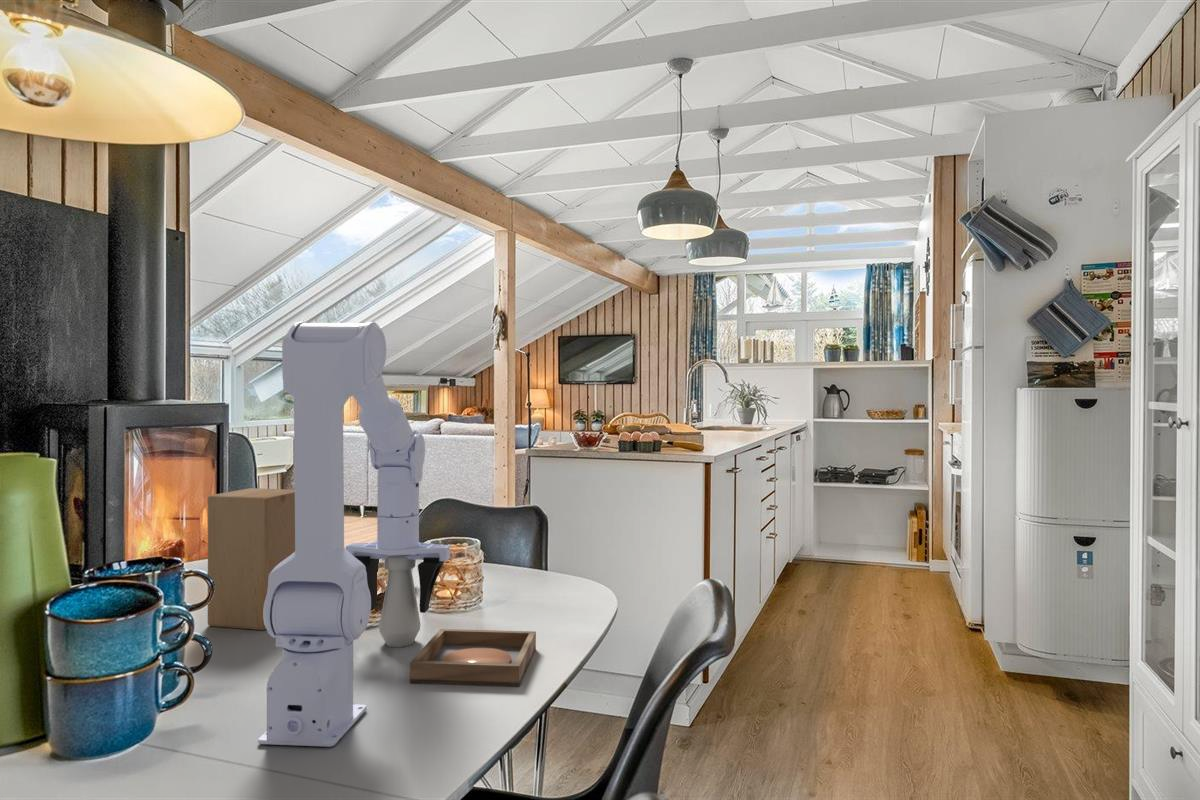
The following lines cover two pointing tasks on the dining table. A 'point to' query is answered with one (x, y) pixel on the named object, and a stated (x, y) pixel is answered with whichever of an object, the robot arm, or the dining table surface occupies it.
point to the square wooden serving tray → (446, 641)
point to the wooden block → (246, 551)
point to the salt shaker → (399, 603)
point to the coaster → (478, 656)
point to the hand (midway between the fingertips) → (397, 610)
